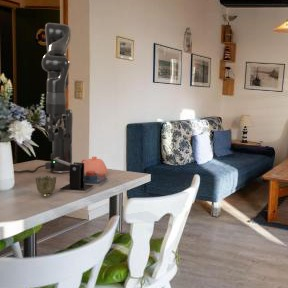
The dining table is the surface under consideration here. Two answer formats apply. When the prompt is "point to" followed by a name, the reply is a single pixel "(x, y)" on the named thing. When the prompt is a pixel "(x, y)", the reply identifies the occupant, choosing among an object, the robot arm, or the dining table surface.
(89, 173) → the button
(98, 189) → the dining table surface
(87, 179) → the control box
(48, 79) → the robot arm
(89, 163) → the sugar bowl
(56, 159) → the switch lever
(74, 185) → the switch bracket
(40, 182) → the cup
